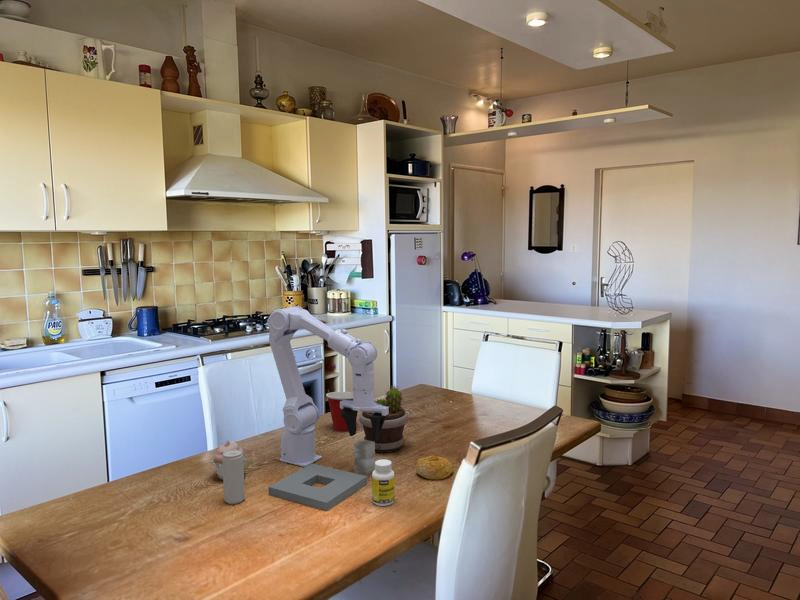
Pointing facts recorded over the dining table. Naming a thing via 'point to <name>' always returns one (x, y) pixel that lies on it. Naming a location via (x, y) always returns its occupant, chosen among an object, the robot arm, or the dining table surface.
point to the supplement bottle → (383, 483)
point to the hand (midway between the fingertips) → (364, 437)
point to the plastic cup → (338, 409)
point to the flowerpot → (387, 423)
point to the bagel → (434, 467)
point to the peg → (364, 457)
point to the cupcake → (218, 455)
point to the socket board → (321, 498)
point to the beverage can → (233, 476)
